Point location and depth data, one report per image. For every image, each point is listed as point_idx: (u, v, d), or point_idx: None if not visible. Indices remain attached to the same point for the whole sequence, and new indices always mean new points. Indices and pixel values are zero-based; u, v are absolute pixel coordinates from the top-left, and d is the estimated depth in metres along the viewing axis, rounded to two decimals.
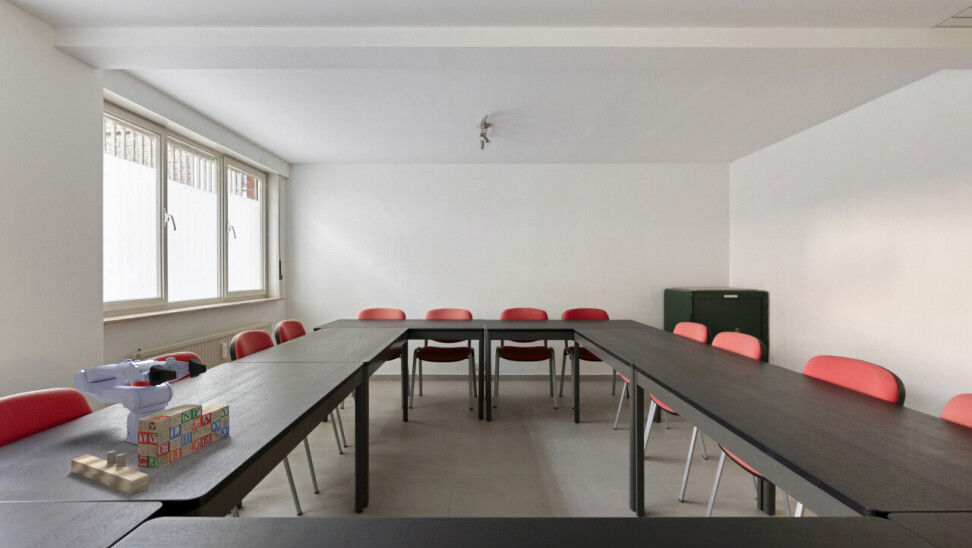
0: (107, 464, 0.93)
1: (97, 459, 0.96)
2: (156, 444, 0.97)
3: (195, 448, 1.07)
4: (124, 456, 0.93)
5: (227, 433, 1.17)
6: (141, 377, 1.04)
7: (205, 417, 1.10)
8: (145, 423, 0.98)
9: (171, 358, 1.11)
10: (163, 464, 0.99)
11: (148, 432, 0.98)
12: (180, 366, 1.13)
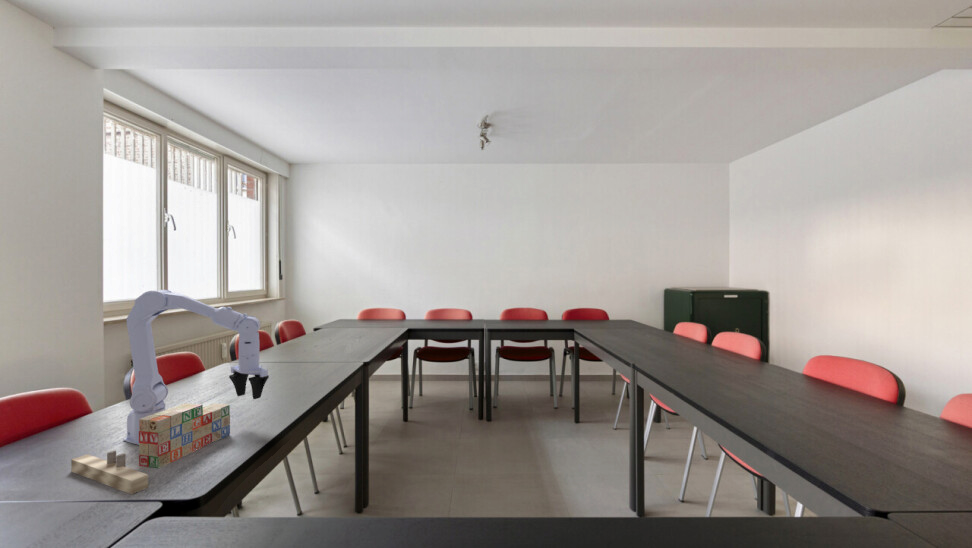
0: (107, 464, 0.93)
1: (97, 459, 0.96)
2: (157, 444, 0.98)
3: (196, 448, 1.08)
4: (124, 456, 0.93)
5: (228, 433, 1.18)
6: (265, 372, 1.22)
7: (206, 417, 1.11)
8: (146, 423, 0.98)
9: None
10: (164, 464, 0.99)
11: (149, 432, 0.98)
12: None
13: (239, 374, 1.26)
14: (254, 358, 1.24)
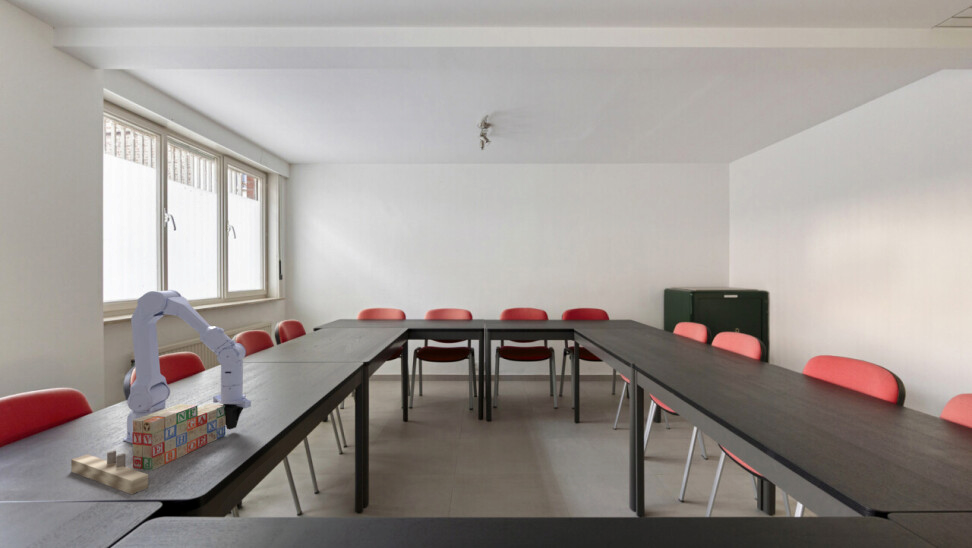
0: (107, 464, 0.93)
1: (97, 459, 0.96)
2: (150, 445, 0.96)
3: (190, 449, 1.06)
4: (124, 456, 0.93)
5: (223, 434, 1.17)
6: (248, 403, 1.17)
7: (201, 417, 1.09)
8: (139, 424, 0.97)
9: None
10: (158, 465, 0.98)
11: (142, 433, 0.97)
12: None
13: (229, 405, 1.19)
14: (237, 388, 1.18)
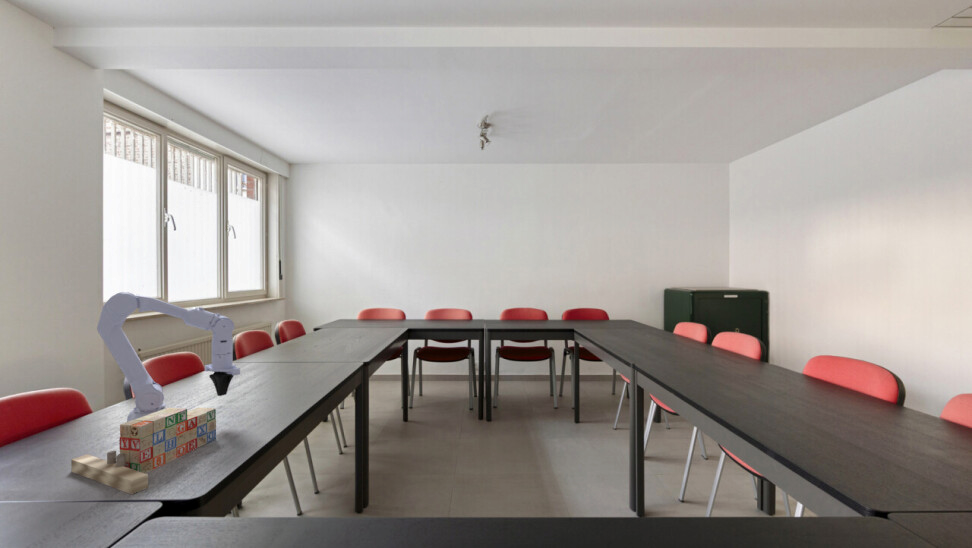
0: (107, 464, 0.93)
1: (97, 459, 0.96)
2: (138, 450, 0.94)
3: (180, 453, 1.04)
4: (124, 456, 0.93)
5: (214, 437, 1.14)
6: (237, 371, 1.24)
7: (190, 421, 1.07)
8: (127, 428, 0.95)
9: None
10: (146, 471, 0.95)
11: (130, 438, 0.94)
12: None
13: (219, 373, 1.26)
14: (227, 357, 1.26)
